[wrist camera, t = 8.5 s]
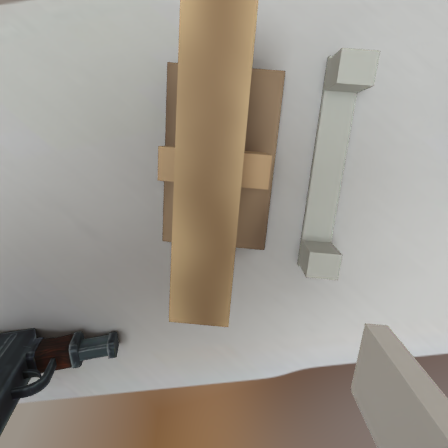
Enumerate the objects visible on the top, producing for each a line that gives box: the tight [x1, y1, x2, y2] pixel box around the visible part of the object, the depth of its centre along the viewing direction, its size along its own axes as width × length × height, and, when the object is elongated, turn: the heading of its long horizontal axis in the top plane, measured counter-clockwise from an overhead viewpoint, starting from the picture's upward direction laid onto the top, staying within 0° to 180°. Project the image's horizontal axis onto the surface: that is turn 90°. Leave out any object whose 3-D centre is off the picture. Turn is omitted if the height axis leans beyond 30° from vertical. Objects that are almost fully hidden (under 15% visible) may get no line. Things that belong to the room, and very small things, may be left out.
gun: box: [0, 328, 119, 435], centre depth 28 cm, size 3×17×15 cm
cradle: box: [297, 48, 380, 280], centre depth 27 cm, size 3×19×4 cm, turn 175°
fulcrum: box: [158, 62, 285, 250], centre depth 26 cm, size 10×16×8 cm, turn 175°
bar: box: [169, 0, 258, 327], centre depth 20 cm, size 4×20×4 cm, turn 176°
